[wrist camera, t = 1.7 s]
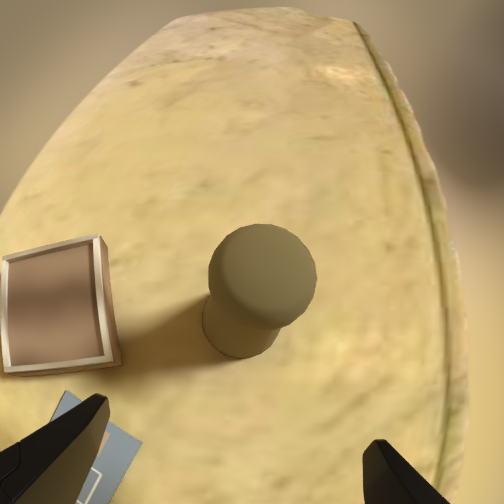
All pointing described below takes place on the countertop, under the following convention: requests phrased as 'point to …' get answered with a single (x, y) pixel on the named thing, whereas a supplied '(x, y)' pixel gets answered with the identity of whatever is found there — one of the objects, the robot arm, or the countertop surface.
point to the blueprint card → (104, 458)
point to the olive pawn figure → (256, 288)
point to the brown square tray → (58, 309)
